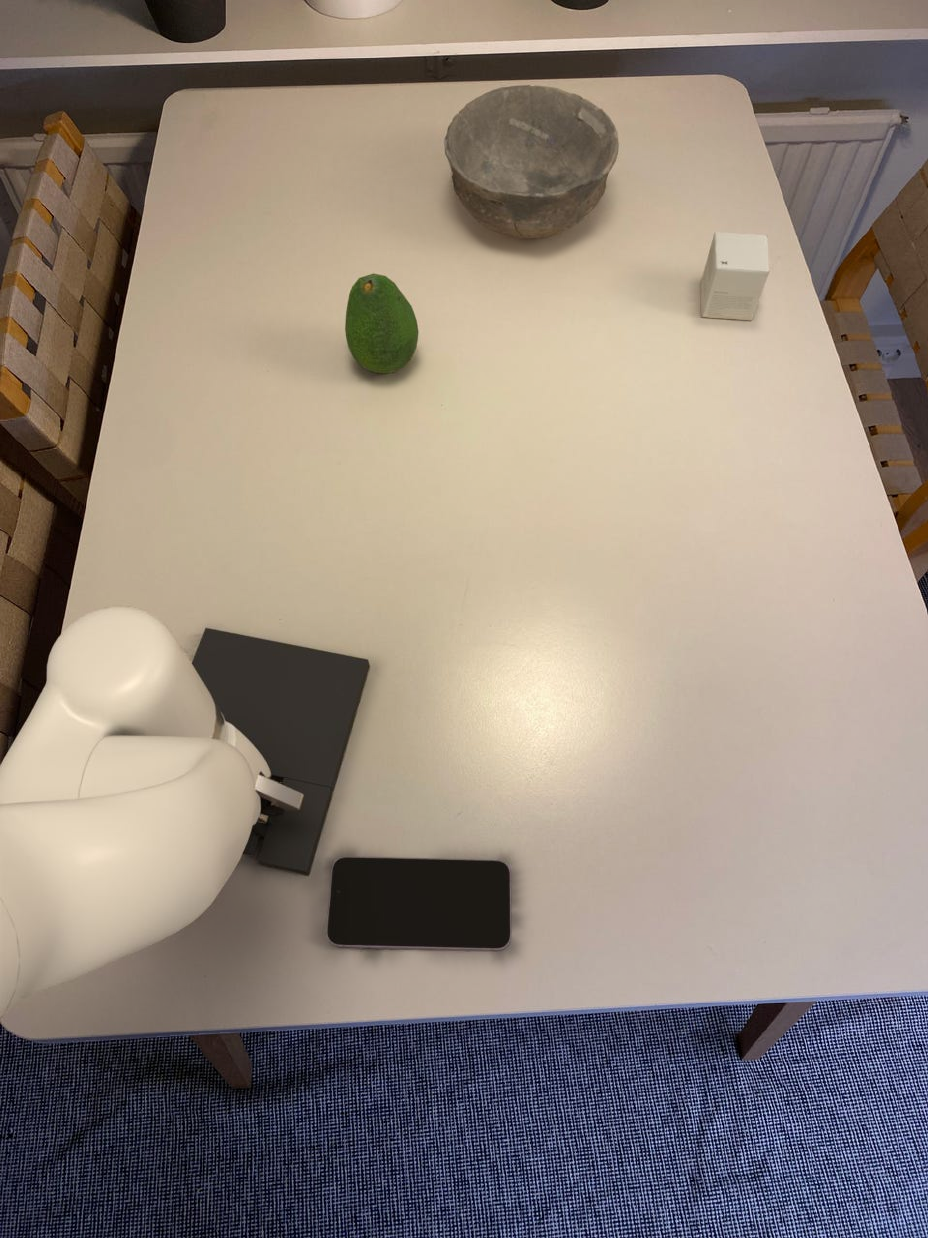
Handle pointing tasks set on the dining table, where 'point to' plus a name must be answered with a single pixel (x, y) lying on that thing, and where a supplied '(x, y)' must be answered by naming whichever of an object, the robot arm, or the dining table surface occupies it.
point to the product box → (734, 275)
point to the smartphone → (419, 903)
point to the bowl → (530, 159)
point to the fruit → (380, 325)
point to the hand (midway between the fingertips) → (227, 809)
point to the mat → (287, 725)
